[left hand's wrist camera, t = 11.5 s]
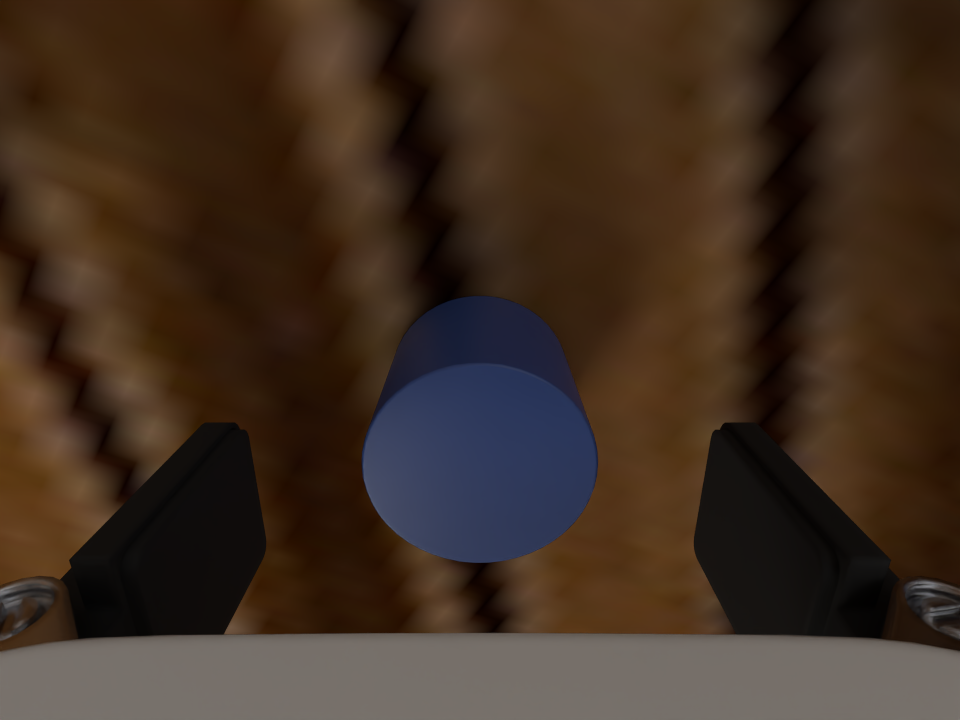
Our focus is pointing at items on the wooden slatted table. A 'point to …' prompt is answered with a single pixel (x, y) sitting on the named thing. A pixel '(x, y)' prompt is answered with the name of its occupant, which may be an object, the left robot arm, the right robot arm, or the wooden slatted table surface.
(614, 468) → the wooden slatted table surface
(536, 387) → the canister
